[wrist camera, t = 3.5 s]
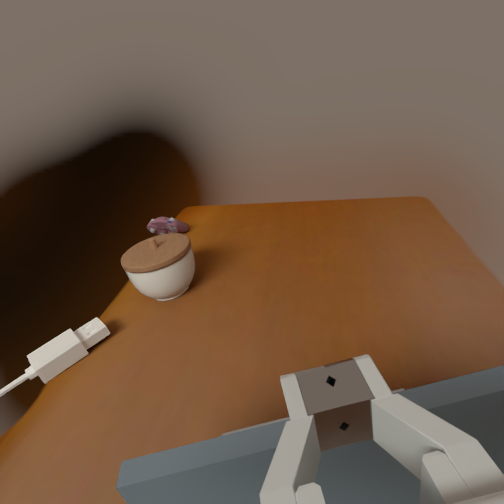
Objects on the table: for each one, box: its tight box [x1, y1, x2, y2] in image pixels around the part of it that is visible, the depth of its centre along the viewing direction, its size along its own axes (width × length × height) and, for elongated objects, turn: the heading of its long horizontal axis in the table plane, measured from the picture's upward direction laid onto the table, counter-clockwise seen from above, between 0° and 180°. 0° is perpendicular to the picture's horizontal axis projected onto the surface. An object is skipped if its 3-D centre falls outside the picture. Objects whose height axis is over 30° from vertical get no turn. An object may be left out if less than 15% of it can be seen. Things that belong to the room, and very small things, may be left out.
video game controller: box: [147, 217, 189, 235], centre depth 88 cm, size 10×5×7 cm, turn 70°
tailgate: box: [116, 365, 504, 504], centre depth 23 cm, size 2×24×12 cm, turn 97°
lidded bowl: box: [121, 233, 195, 301], centre depth 62 cm, size 13×13×11 cm
